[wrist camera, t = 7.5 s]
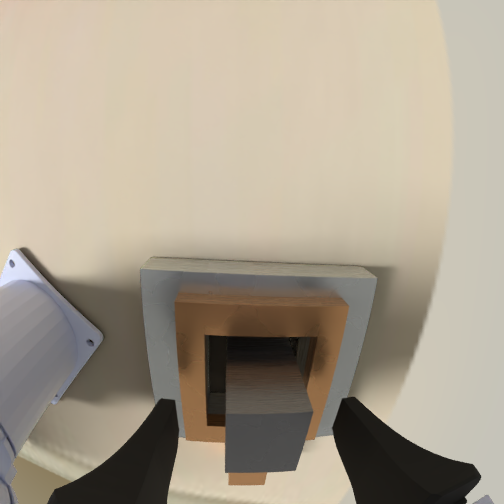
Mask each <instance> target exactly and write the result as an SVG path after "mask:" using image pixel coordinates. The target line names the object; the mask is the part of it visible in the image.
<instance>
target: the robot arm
mask: <svg viewBox="0 0 504 504" xmlns="http://www.w3.org/2000/svg"><path fill="white" fill-rule="evenodd" d="M13 261H14V264H15V265H14V264H13ZM89 339H90V340H92V341H93V342H94V343H91V342H90V340H89ZM102 341H103V334H102V333H101V331H100V330H99V329H97V328H96V327H95V326H94V325H93V324H92V323H91V322H89V321H88V320H87V319H86V318H85V317H84V316H83V315H82V314H81V313H80V312H79V311H77V310H76V309H75V308H74V307H73V306H72V305H71V304H70V303H69V302H68V301H67V300H66V299H65V298H64V297H63V296H62V295H61V294H60V293H59V292H58V291H57V290H56V289H55V288H54V287H53V286H52V285H51V284H50V283H49V282H48V281H47V280H46V279H45V278H44V277H43V276H42V274H41V273H40V272H39V271H38V270H37V269H36V268H35V267H34V266H33V265H32V263H31V262H30V261H29V260H28V259H27V258H26V257H25V255H24V254H23V253H22V252H21V251H20V250H19V249H17V248H16V249H14V250H12V251H11V252H10V254H9V257H8V259H7V262H6V264H5V267H4V269H3V272H2V274H1V277H0V504H18V501H17V497H16V494H15V492H14V490H13V488H12V486H11V482H12V480H13V478H14V477H15V475H16V473H17V470H16V469H15V467H14V465H13V462H14V459H15V458H16V457H17V455H18V454H19V452H20V450H21V448H22V447H23V445H24V443H25V442H26V440H27V439H28V437H29V435H30V434H31V432H32V430H33V429H34V427H35V426H36V424H37V423H38V421H39V419H40V418H41V416H42V415H43V413H44V412H45V410H46V409H47V407H48V406H49V404H50V403H52V404H57V402H58V401H59V399H60V398H61V397H62V395H63V394H64V392H65V391H66V390H67V388H68V387H69V385H70V384H71V383H72V381H73V380H74V378H75V377H76V376H77V374H78V373H79V372H80V370H81V369H82V367H83V366H84V365H85V363H86V362H87V361H88V359H89V358H90V357H91V355H92V354H93V353H94V351H95V350H96V349H97V347H98V346H99V345H100V344H101V342H102ZM332 430H333V435H334V439H335V443H336V447H337V449H338V452H339V455H340V457H341V460H342V462H343V465H344V467H345V470H346V472H347V475H348V477H349V480H350V482H351V485H352V488H353V492H354V496H355V500H356V504H466V503H467V500H466V498H465V496H466V495H467V494H468V493H469V492H470V491H471V490H472V489H473V488H474V487H475V486H476V485H477V484H478V483H479V481H480V479H481V475H480V473H479V472H478V470H477V469H476V468H475V466H474V465H473V464H469V463H464V462H460V461H455V460H451V459H448V458H445V457H442V456H440V455H437V454H434V453H432V452H430V451H428V450H425V449H423V448H421V447H419V446H417V445H416V444H414V443H412V442H410V441H409V440H407V439H405V438H404V437H402V436H401V435H400V434H398V433H397V432H395V431H394V430H392V429H391V428H390V427H389V426H387V425H386V424H385V423H384V422H382V421H381V420H380V419H379V418H378V417H377V416H375V415H374V414H373V413H372V412H371V411H370V410H369V409H367V408H366V407H365V406H364V405H363V404H362V403H361V402H360V401H359V400H357V399H356V398H355V397H349V398H342V400H341V403H340V406H339V409H338V412H337V415H336V418H335V421H334V423H333V426H332ZM178 438H179V425H178V418H177V410H176V402H175V400H173V399H163V398H161V399H159V400H158V402H157V404H156V405H155V407H154V408H153V410H152V411H151V413H150V414H149V416H148V417H147V418H146V420H145V421H144V422H143V423H142V425H141V426H140V427H139V429H138V430H137V431H136V432H135V433H134V434H133V436H132V437H131V438H130V439H129V440H128V441H127V442H126V443H125V444H124V445H123V446H122V447H121V448H120V449H119V450H118V451H117V452H116V453H115V454H114V455H112V456H111V457H110V458H109V459H108V460H106V461H105V462H104V463H102V464H101V465H100V466H98V467H97V468H96V469H94V470H93V471H91V472H89V473H88V474H86V475H84V476H82V477H81V478H79V479H77V480H75V481H73V482H71V483H69V484H67V485H64V486H62V487H60V488H57V489H55V490H54V492H53V493H52V495H51V497H50V499H49V501H48V503H47V504H167V496H168V490H169V485H170V480H171V476H172V471H173V467H174V462H175V458H176V453H177V448H178ZM473 504H494V503H493V502H492V500H491V498H490V497H489V496H488V495H485V496H484V497H482V498H481V499H479V500H478V501H476V502H475V503H473Z"/></svg>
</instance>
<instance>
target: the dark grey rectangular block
mask: <svg viewBox="0 0 504 504" xmlns="http://www.w3.org/2000/svg"><path fill="white" fill-rule="evenodd" d="M313 412H314V411H313V408H312V405H311V402H310V399H309V397H308V394H307V391H306V388H305V385H304V382H303V379H302V376H301V373H300V370H299V367H298V364H297V361H296V358H295V355H294V352H293V349H292V347H291V344H290V341H289V338H288V337H247V336H227V351H226V395H225V473H263V472H283V471H295V470H296V467H297V464H298V461H299V458H300V455H301V452H302V449H303V446H304V443H305V439H306V436H307V433H308V429H309V426H310V422H311V419H312V415H313Z"/></svg>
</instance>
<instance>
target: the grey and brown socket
mask: <svg viewBox="0 0 504 504" xmlns="http://www.w3.org/2000/svg"><path fill="white" fill-rule="evenodd" d="M140 277H141V293H142V306H143V318H144V328H145V337H146V346H147V354H148V361H149V369H150V375H151V382H152V388H153V394H154V400H155V405H156V404H157V402H158V400H159V399H161V398H163V399H173V400H175V402H176V410H177V418H178V425H179V437H183V438H186V440H190V441H203V442H222V443H225V395H226V393H221V392H210V387H209V335H220V336H247V337H299V341H298V347H297V353H296V361H297V364H298V367H299V370H300V373H301V376H302V379H303V382H304V385H305V388H306V391H307V394H308V397H309V399H310V402H311V405H312V408H313V411H314V412H313V415H312V419H311V422H310V426H309V429H308V433H307V436H306V439H305V440H314V439H315V437H320V436H329V435H333V430H332V426H333V423H334V421H335V418H336V415H337V412H338V409H339V406H340V403H341V400H342V398H347V396H348V393H349V390H350V387H351V384H352V381H353V377H354V374H355V371H356V367H357V364H358V360H359V357H360V353H361V349H362V346H363V342H364V338H365V334H366V330H367V326H368V322H369V317H370V313H371V309H372V304H373V299H374V295H375V290H376V285H377V279H378V278H377V277H376V276H374V275H373V274H371V273H370V272H369V271H367V270H366V269H365V268H363V267H362V266H343V265H317V264H291V263H267V262H244V261H222V260H201V259H181V258H161V257H151V258H150V259H149V260H148V261H147V262H146V263H145V264H144V265H143V266H142V267H141V268H140ZM266 475H267V472H263V473H228V477H229V485H264V484H265V480H266Z"/></svg>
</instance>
